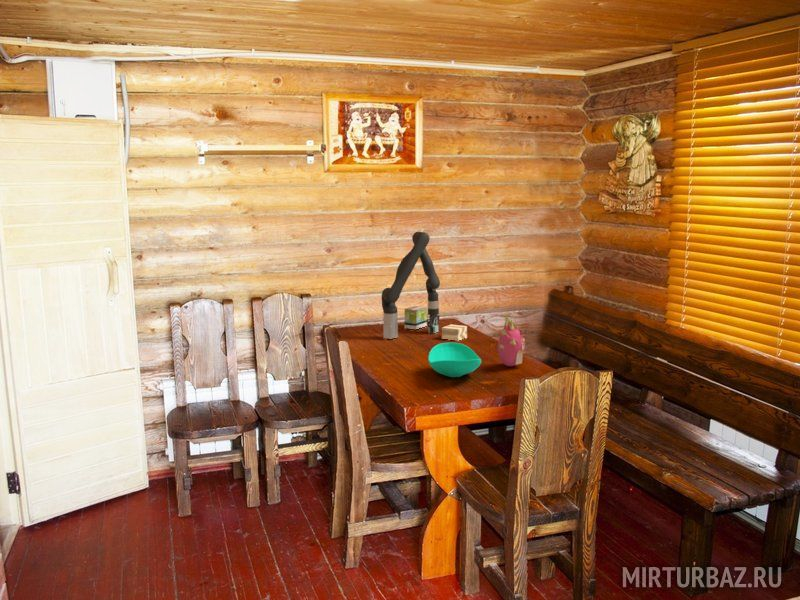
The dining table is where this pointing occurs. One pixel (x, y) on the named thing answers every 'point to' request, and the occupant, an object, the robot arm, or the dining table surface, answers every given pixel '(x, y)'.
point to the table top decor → (453, 359)
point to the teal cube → (434, 328)
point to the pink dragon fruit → (511, 344)
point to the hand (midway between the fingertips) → (433, 331)
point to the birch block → (454, 332)
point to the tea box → (415, 317)
